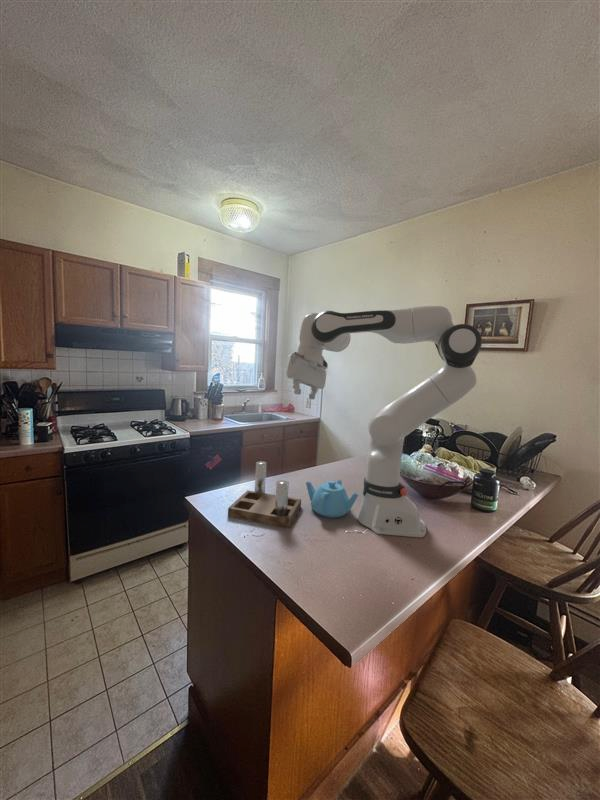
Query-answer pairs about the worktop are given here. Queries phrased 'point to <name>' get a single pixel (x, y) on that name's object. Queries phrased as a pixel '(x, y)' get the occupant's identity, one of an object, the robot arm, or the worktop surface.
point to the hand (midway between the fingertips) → (304, 396)
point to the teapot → (330, 499)
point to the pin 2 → (281, 498)
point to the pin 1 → (260, 477)
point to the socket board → (263, 509)
